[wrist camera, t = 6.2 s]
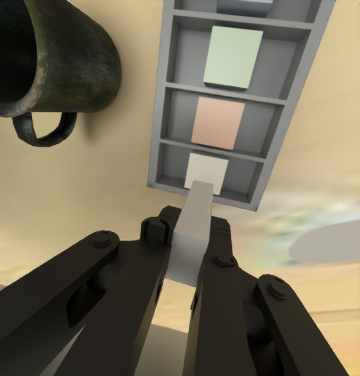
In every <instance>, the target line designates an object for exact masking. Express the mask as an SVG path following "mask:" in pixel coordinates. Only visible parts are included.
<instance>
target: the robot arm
mask: <svg viewBox="0 0 360 376" xmlns="http://www.w3.org/2000/svg"><path fill="white" fill-rule="evenodd" d="M213 187H214V184H210V183H206V182H201V181H197V180H193V183H192V185H191V188H190V191H189V193H188V196H187V198H186V201H185V203H184V206H183V209H180V208H176V207H172V206H167V207H165V208H163V209H162V211H161V212H160V215H159V216H158V217H149V218H147V219H145V220H143V221H142V224H141V234H140V239H139V240H135V241H120V239H119V236H118V235H117V234H116V233H114V232H112V231H104V230H102V231H97V232H94V233H92V234H90V235H88V236H87V237H85V238H84V239H82V240H80V241H79V242H77V243H76V244H74V245H72V246H71V247H69V248H68V249H66V250H65V251H63V252H61V253H60V254H58V255H57V256H55V257H53V258H52V259H50V260H49V261H47V262H45V263H44V264H42V265H41V266H39V267H37V268H36V269H34V270H33V271H31V272H29V273H28V274H26V275H25V276H23V277H21V278H20V279H18V280H17V281H15V282H13V283H12V284H10V285H9V286H7V287H5V288H4V289H3V290H1V291H0V376H39V375H40V374H41V373H42V371H43V370H44V369H45V368H46V367H47V366H48V365H49V364H50V363H51V362H52V360H53V359H54V358H55V357H56V356H57V355H58V354H59V353H60V352H61V351H62V349H63V348H64V347H65V346H66V345H67V344H68V343H69V342H70V341H71V340H72V338H73V337H74V336H75V335H76V334H77V333H78V332H79V331H80V330H81V328H83V326H84V325H85V324H86V325H85V326H84V328H83V330H82V331H81V332H80V334H79V336H78V337H77V339H76V340H75V342H74V344H73V345H72V347H71V348H70V350H69V352H68V353H67V355H66V356H65V358H64V359H63V361H62V363H61V364H60V366H59V367H58V369H57V371H56V372H55V374H54V375H53V376H134V373H135V370H136V367H137V364H138V361H139V358H140V355H141V352H142V348H143V346H144V343H145V339H146V336H147V333H148V330H149V327H150V324H151V321H152V318H153V315H154V312H155V309H156V306H157V303H158V300H159V296H160V293H161V290H162V286H163V281H164V278H166V279H170V280H173V281H176V282H180V283H183V284H186V285H190V286H193V287H196V291H195V294H194V298H193V301H192V305H191V308H190V309H191V310H192V311H191V318H190V325H189V332H188V339H187V346H186V353H185V360H184V368H183V374H182V376H349V375H348V373H347V372H346V370H345V368H344V367H343V365H342V364H341V362H340V361H339V359H338V358H337V356H336V355H335V353H334V352H333V350H332V349H331V347H330V345H329V344H328V342H327V341H326V339H325V338H324V336H323V335H322V333H321V332H320V330H319V329H318V327H317V325H316V324H315V322H314V321H313V319H312V318H311V316H310V315H309V313H308V312H307V310H306V309H305V307H304V305H303V304H302V302H301V301H300V299H299V298H298V296H297V295H296V293H295V292H294V290H293V289H292V288H291V287H290V286H289V284H287V283H286V282H285V281H283V280H282V279H280V278H278V277H276V276H274V275H270V274H264V275H262V276H260V277H259V279H257V278H256V277H254V276H252V275H250V274H248V273H247V272H245V271H243V270H242V269H241V268H240V267H239V266H238V263H237V260H236V259H235V257H234V256H233V253H232V242H231V232H230V225H229V223H228V222H227V220H226V219H222V218H218V217H214V216H211V210H212V199H213ZM196 284H197V285H196Z"/></svg>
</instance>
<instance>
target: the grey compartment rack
mask: <svg viewBox="0 0 360 376" xmlns="http://www.w3.org/2000/svg"><path fill="white" fill-rule="evenodd" d="M335 1H336V0H273V2H272V5H271V7H270V9H269V11H268V13H267V15H266V17H265V18H262V17H253V16H243V15H233V14H223V13H217V5H216V0H164V3H163V14H162V25H161V37H160V48H159V60H158V71H157V82H156V94H155V105H154V116H153V128H152V139H151V151H150V162H149V173H148V185H147V187H151V188H155V189H159V190H164V191H168V192H172V193H177V194H181V195H186V196H188V193H189V191H190V189H189V188H185V187H184V185H185V180H186V174H187V169H188V163H189V157H190V153H191V151H192V150H193V149H195V150H200V151H205V152H210V153H216V154H221V155H226V156H228V160H229V161H228V164H227V168H226V172H225V176H224V179H223V183H222V187H221V190H220V194H219V195H216V194H213V199H212V202H216V203H221V204H225V205H229V206H234V207H238V208H242V209H247V210H251V211H257V209H258V206H259V203H260V201H261V198H262V195H263V193H264V190H265V187H266V185H267V182H268V179H269V177H270V174H271V171H272V169H273V166H274V163H275V161H276V158H277V155H278V153H279V150H280V147H281V145H282V142H283V140H284V137H285V134H286V132H287V129H288V126H289V124H290V121H291V118H292V116H293V113H294V110H295V108H296V105H297V102H298V100H299V97H300V94H301V92H302V89H303V86H304V84H305V81H306V78H307V76H308V73H309V70H310V68H311V65H312V62H313V60H314V57H315V54H316V52H317V49H318V46H319V44H320V41H321V39H322V36H323V33H324V31H325V28H326V25H327V23H328V20H329V17H330V15H331V12H332V9H333V7H334V4H335ZM213 26H219V27H228V28H238V29H247V30H256V31H263V34H262V38H261V42H260V45H259V49H258V53H257V56H256V60H255V64H254V68H253V71H252V75H251V79H250V83H249V86H248V89H247V90H246V91H241V90H234V89H228V88H221V87H214V86H208V85H204V83H203V79H204V73H205V67H206V62H207V56H208V50H209V45H210V39H211V34H212V28H213ZM199 96H200V97H206V98H212V99H219V100H225V101H231V102H238V103H244V104H245V106H244V109H243V113H242V117H241V120H240V124H239V128H238V132H237V135H236V139H235V143H234V146H233V150H230V149H225V148H220V147H215V146H209V145H204V144H199V143H194V142H191V140H192V134H193V128H194V122H195V117H196V111H197V105H198V100H199Z"/></svg>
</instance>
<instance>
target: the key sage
mask: <svg viewBox="0 0 360 376" xmlns="http://www.w3.org/2000/svg"><path fill="white" fill-rule="evenodd" d="M262 34H263V31H256V30H247V29H238V28H228V27H219V26H213V28H212V34H211V39H210V45H209V50H208V56H207V62H206V67H205V73H204V79H203V83H204V85H208V86H214V87H221V88H228V89H234V90H241V91H246V90H247V89H248V86H249V83H250V79H251V75H252V71H253V68H254V64H255V60H256V56H257V53H258V49H259V45H260V42H261V38H262Z"/></svg>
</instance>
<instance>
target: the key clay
mask: <svg viewBox="0 0 360 376" xmlns="http://www.w3.org/2000/svg"><path fill="white" fill-rule="evenodd" d="M244 106H245V104H244V103H238V102H231V101H225V100H219V99H212V98H206V97H200V96H199V100H198V105H197V111H196V117H195V122H194V128H193V134H192V140H191V142H194V143H199V144H204V145H209V146H215V147H220V148H225V149H230V150H233V146H234V143H235V139H236V135H237V132H238V128H239V124H240V120H241V117H242V113H243V109H244Z"/></svg>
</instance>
